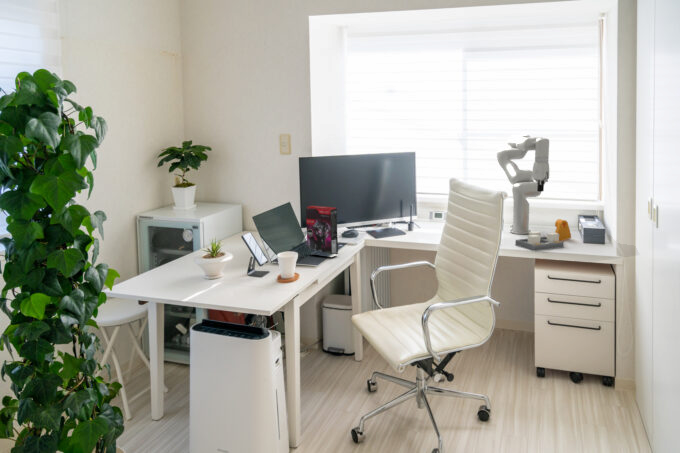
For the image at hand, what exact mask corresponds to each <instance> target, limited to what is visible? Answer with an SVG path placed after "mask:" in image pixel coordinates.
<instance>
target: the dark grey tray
mask: <svg viewBox="0 0 680 453" xmlns="http://www.w3.org/2000/svg"><path fill="white" fill-rule="evenodd" d="M564 244H565V242H564V240H562V241H556V242H549V241H547V236H541V237H540V244H534V245H532V244H529V243H528V238H521V239H515V246H517V247H521V248H524V249H527V250H530V251H533V252H534V251H535V252H536V251H543V250H550V249H558V247H559V248H564V247H565V246H564Z"/></svg>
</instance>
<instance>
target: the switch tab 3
mask: <svg viewBox="0 0 680 453" xmlns="http://www.w3.org/2000/svg"><path fill="white" fill-rule="evenodd" d="M546 237H547V241H549V242H556V241H559V234H558V233H555V232H547V233H546Z"/></svg>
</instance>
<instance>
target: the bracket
mask: <svg viewBox="0 0 680 453" xmlns="http://www.w3.org/2000/svg"><path fill="white" fill-rule="evenodd" d="M554 226H555V227H556V229H555V232H554V233H558V234H559V241H568V239H571V238H572V233H571V231H570V226H569V223H568V221H567V220H566V219H565V220H564V219H561V218H559V219H557V220H555V223H554Z"/></svg>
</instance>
